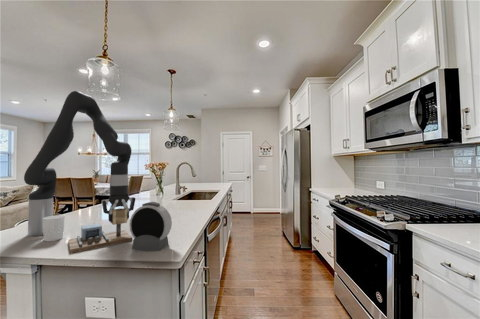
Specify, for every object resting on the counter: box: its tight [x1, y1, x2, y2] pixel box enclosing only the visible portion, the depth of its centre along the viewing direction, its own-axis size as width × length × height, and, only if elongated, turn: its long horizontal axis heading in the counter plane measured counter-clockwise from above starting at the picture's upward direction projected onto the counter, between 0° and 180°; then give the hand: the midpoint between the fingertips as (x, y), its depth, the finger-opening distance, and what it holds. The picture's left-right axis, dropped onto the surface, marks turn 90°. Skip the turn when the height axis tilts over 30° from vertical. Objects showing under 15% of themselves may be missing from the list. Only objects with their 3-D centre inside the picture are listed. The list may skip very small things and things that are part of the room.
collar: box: [111, 207, 128, 226], centre depth 103 cm, size 6×6×6 cm
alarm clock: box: [129, 201, 173, 252], centre depth 92 cm, size 16×10×18 cm, turn 82°
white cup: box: [42, 214, 66, 242], centre depth 102 cm, size 8×8×10 cm
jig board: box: [67, 224, 133, 254], centre depth 98 cm, size 15×22×8 cm
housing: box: [80, 223, 103, 241], centre depth 99 cm, size 6×7×5 cm
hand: (118, 221), depth 103 cm, fingers closed on collar, 5 cm apart
